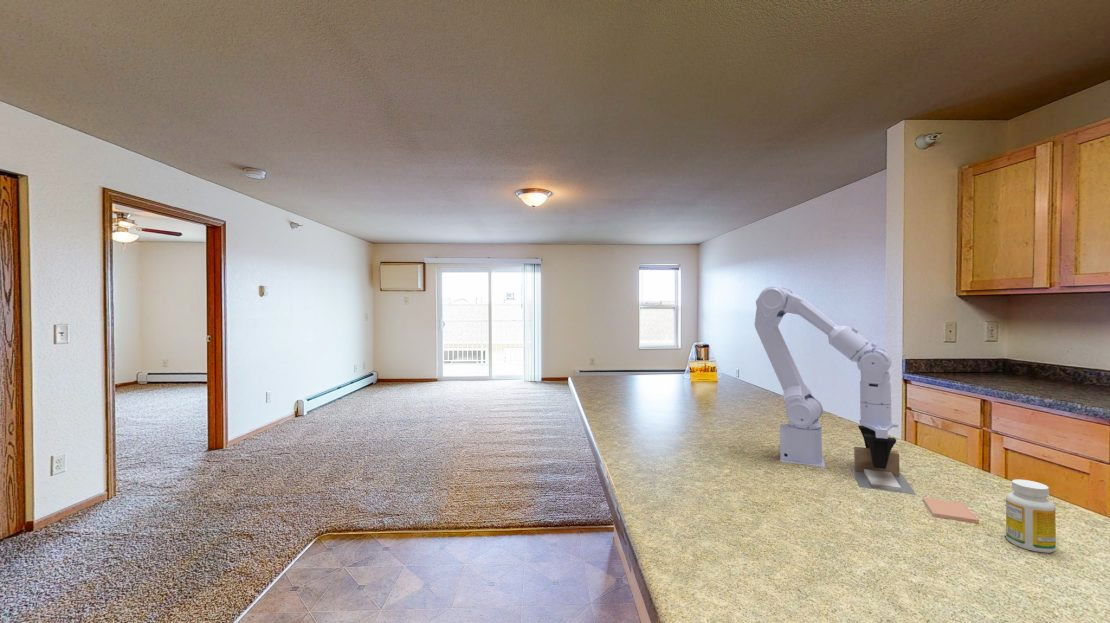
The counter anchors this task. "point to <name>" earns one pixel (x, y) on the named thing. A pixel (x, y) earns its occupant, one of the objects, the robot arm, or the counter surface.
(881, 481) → the brown grey l-shaped piece
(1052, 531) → the supplement bottle
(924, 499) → the tile
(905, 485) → the tool rest
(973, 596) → the counter surface
